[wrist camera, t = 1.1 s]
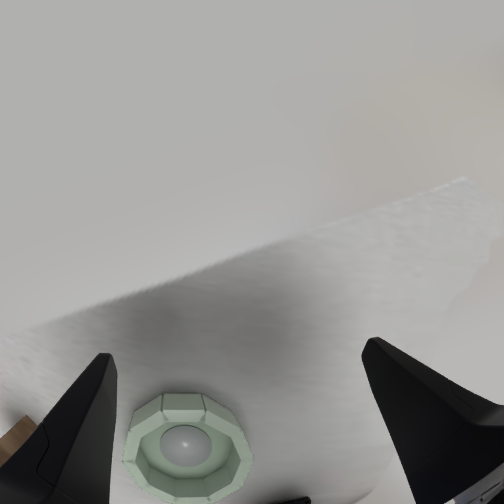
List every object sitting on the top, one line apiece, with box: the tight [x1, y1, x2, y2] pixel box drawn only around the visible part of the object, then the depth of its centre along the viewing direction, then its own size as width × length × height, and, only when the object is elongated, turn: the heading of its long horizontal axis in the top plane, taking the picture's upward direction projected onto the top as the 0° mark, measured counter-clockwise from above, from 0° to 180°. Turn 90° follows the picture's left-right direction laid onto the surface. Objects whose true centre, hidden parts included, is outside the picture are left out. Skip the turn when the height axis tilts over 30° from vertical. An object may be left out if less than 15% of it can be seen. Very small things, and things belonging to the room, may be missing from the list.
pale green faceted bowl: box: [122, 393, 254, 504], centre depth 19 cm, size 10×10×4 cm
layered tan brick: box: [0, 415, 38, 467], centre depth 11 cm, size 4×4×12 cm
